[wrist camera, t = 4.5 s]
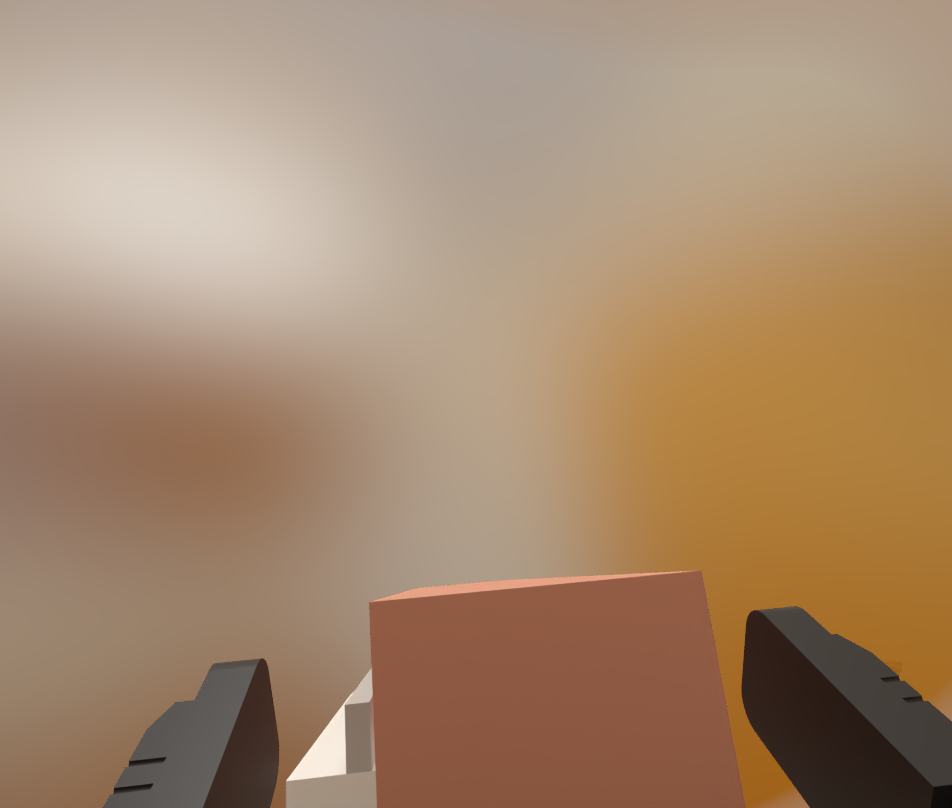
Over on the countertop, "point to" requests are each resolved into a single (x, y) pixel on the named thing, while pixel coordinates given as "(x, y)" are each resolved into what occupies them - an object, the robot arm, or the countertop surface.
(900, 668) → the countertop surface
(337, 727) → the stand
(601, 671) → the long salmon orange block
